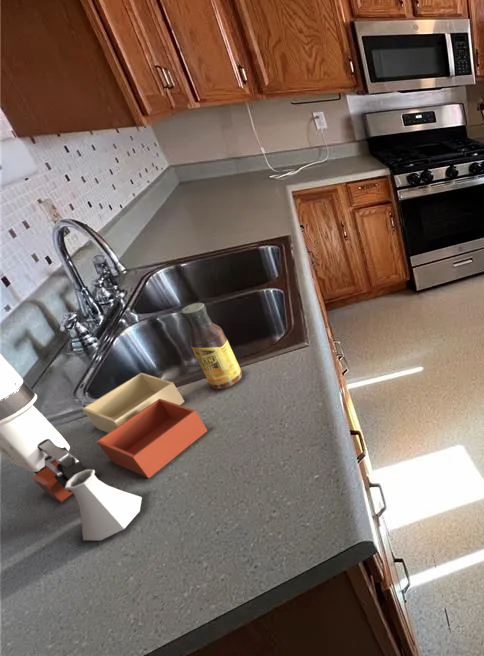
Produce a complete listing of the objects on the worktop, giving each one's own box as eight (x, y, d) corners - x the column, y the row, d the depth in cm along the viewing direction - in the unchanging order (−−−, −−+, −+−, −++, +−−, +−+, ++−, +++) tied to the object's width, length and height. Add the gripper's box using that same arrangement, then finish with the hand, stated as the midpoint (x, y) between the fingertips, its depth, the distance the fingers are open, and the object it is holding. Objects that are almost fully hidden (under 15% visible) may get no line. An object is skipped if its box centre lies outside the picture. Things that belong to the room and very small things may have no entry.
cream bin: (97, 428, 84) (81, 408, 81) (153, 391, 93) (141, 372, 90) (129, 441, 80) (114, 421, 78) (184, 401, 89) (173, 382, 86)
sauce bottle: (205, 389, 92) (163, 315, 83) (228, 370, 97) (191, 298, 88) (229, 392, 90) (188, 317, 81) (251, 373, 96) (215, 300, 86)
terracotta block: (47, 494, 71) (30, 477, 69) (78, 471, 75) (64, 455, 73) (61, 502, 70) (45, 485, 67) (92, 478, 73) (78, 462, 71)
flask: (73, 549, 62) (32, 508, 58) (101, 505, 68) (66, 465, 64) (128, 533, 64) (92, 493, 59) (151, 491, 70) (120, 452, 65)
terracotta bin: (112, 462, 76) (95, 441, 74) (172, 418, 85) (159, 398, 82) (148, 478, 72) (132, 457, 70) (207, 430, 81) (195, 410, 78)
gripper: (-64, 410, 63) (11, 481, 71) (-10, 437, 57) (66, 512, 65) (2, 377, 69) (65, 446, 77) (58, 398, 63) (119, 470, 71)
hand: (65, 476), depth 71 cm, fingers open, 9 cm apart
